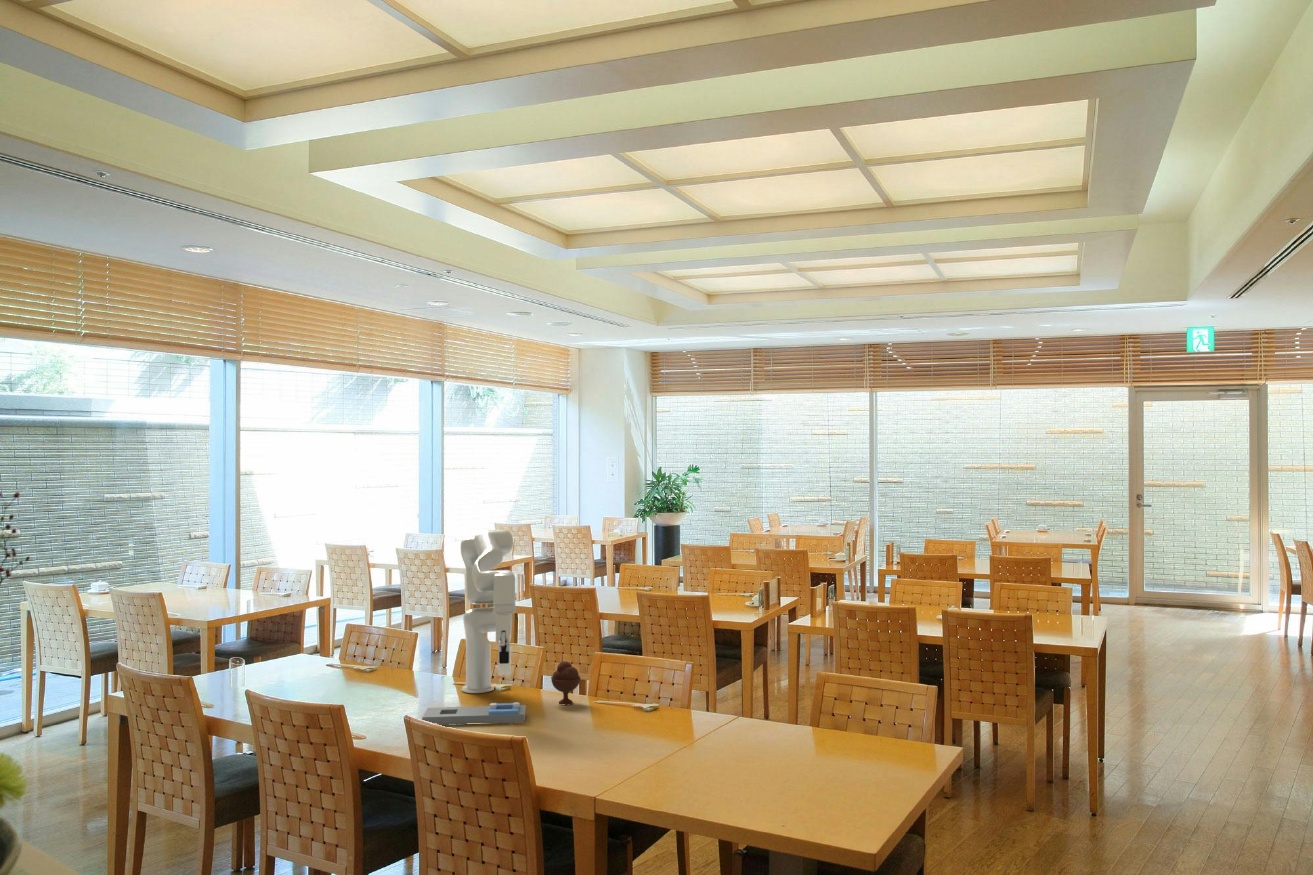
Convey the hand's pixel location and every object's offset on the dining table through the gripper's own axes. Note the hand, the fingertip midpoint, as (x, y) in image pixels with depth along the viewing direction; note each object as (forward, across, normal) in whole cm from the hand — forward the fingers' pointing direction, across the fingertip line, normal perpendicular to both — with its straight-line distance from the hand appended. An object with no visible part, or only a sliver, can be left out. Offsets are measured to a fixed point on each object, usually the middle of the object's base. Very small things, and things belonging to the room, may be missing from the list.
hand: (504, 661), depth 320 cm
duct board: (+20, 0, -10) cm, 22 cm away
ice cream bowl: (+20, -18, +21) cm, 34 cm away
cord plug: (+4, 0, 0) cm, 4 cm away
